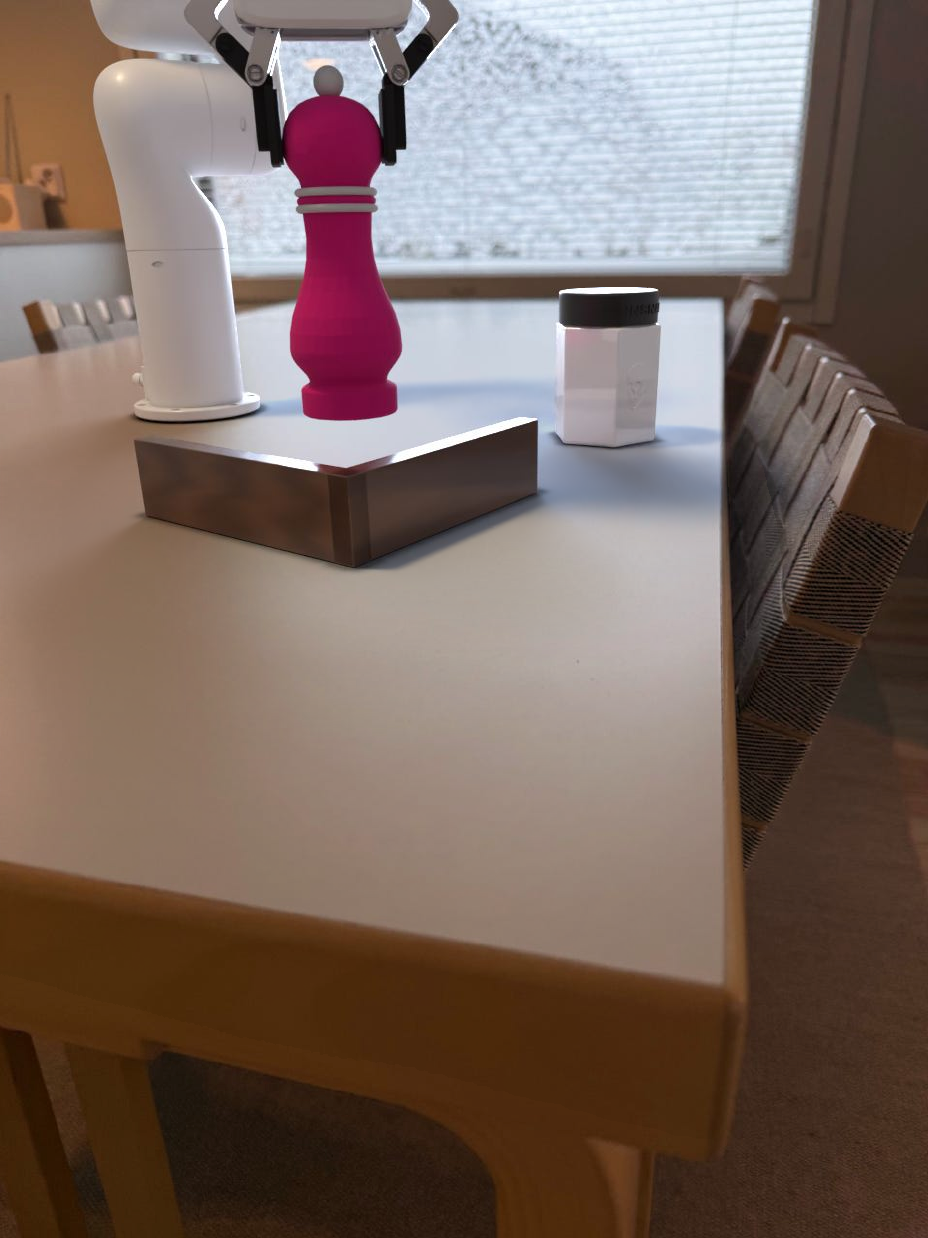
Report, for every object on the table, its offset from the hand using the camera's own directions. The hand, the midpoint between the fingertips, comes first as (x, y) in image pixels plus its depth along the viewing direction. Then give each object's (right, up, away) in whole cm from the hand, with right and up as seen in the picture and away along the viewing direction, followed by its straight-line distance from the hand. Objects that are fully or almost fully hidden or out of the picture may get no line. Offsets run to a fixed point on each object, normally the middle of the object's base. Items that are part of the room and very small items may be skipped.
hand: (333, 161), depth 55 cm
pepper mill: (0, -14, +6) cm, 15 cm away
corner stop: (0, -20, +6) cm, 21 cm away
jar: (+20, -12, +24) cm, 34 cm away
